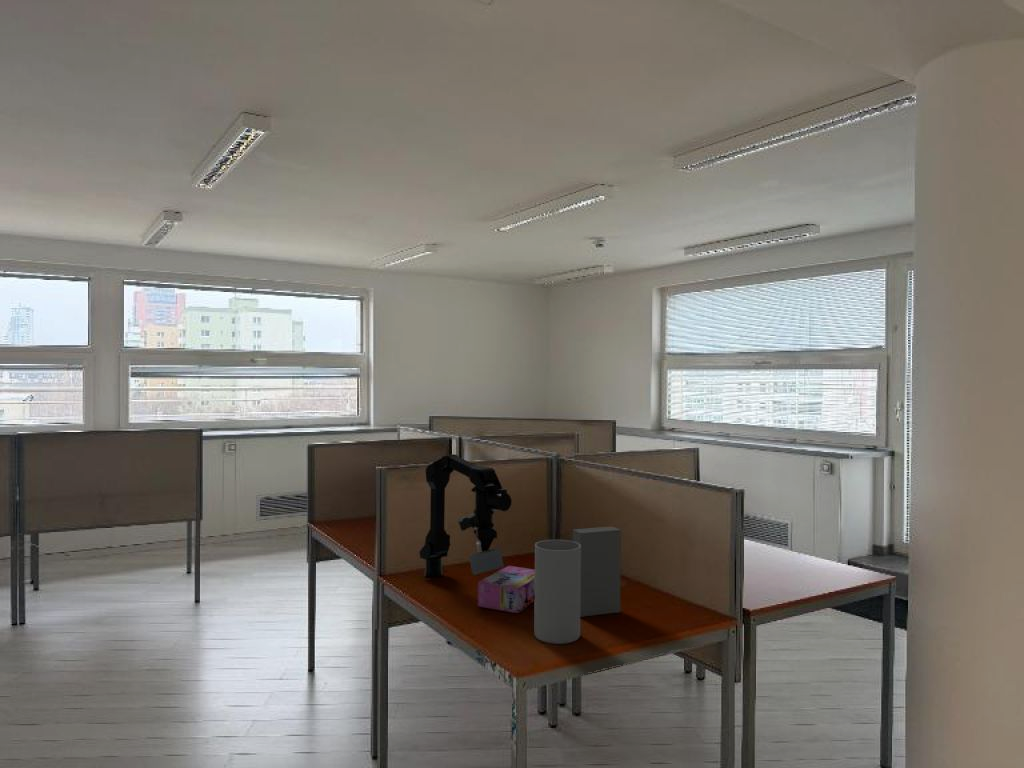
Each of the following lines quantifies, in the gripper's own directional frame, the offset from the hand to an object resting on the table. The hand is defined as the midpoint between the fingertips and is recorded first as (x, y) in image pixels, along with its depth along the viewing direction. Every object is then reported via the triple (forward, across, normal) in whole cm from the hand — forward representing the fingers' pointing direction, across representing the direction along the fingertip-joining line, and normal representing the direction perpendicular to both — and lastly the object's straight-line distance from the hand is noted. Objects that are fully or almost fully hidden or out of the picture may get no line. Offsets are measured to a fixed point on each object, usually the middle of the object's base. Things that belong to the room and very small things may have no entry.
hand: (483, 554), depth 233 cm
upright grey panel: (+13, +24, +31) cm, 41 cm away
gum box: (+8, +6, +2) cm, 11 cm away
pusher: (+3, +3, +1) cm, 4 cm away
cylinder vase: (+13, +42, +15) cm, 46 cm away
